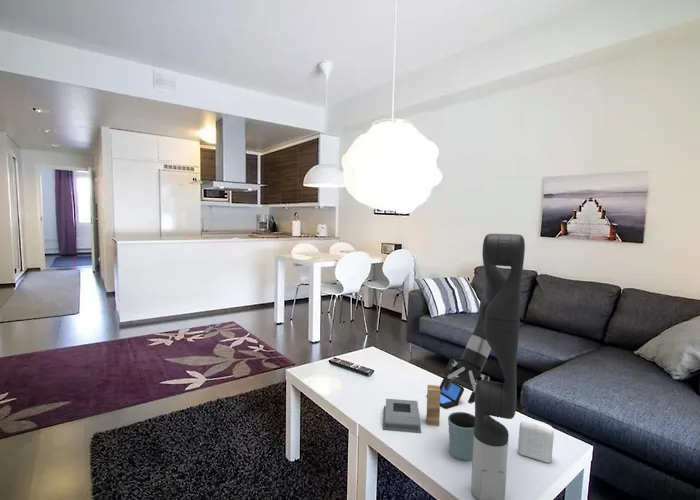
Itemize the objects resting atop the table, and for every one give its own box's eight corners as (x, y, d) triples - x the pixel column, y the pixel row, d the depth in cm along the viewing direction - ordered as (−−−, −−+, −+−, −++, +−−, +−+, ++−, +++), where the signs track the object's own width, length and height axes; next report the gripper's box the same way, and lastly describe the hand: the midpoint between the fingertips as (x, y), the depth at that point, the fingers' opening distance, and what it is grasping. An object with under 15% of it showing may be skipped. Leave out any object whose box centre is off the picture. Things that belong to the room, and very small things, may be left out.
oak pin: (439, 426, 143) (440, 390, 141) (427, 425, 143) (428, 389, 142) (437, 419, 147) (439, 385, 146) (426, 418, 147) (427, 384, 146)
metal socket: (421, 433, 138) (421, 420, 137) (382, 429, 139) (383, 416, 139) (418, 410, 153) (418, 399, 153) (384, 408, 155) (384, 396, 155)
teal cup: (481, 451, 128) (483, 417, 127) (473, 467, 119) (475, 431, 118) (452, 440, 133) (453, 408, 132) (442, 455, 125) (443, 421, 124)
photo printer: (551, 457, 125) (554, 422, 124) (551, 465, 121) (554, 428, 120) (518, 448, 130) (520, 414, 129) (517, 454, 126) (519, 419, 125)
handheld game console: (425, 396, 166) (426, 380, 165) (444, 392, 171) (444, 376, 170) (445, 410, 155) (445, 392, 154) (464, 404, 160) (465, 387, 159)
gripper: (454, 340, 129) (435, 384, 126) (495, 358, 120) (475, 406, 117) (460, 345, 134) (442, 387, 132) (499, 363, 125) (480, 408, 123)
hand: (457, 396), depth 124 cm, fingers open, 8 cm apart
